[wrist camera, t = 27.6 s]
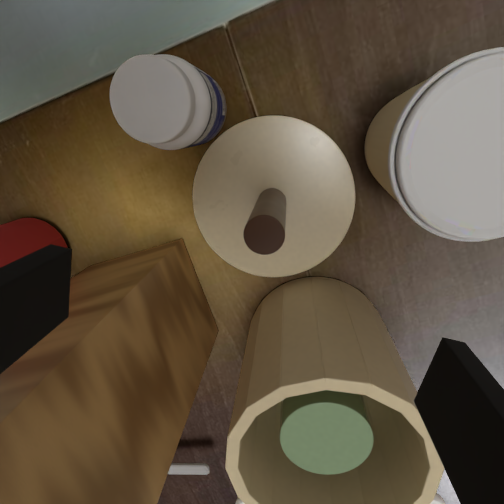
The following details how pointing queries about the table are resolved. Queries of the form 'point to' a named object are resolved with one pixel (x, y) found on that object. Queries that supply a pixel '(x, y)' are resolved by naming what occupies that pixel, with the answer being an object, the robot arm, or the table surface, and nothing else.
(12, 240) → the beer can
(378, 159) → the coffee cup
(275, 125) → the lid
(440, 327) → the table surface
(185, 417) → the stand
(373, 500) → the pot
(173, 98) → the pill bottle
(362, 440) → the canister
